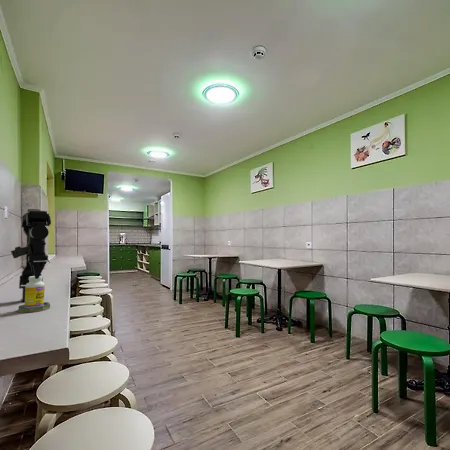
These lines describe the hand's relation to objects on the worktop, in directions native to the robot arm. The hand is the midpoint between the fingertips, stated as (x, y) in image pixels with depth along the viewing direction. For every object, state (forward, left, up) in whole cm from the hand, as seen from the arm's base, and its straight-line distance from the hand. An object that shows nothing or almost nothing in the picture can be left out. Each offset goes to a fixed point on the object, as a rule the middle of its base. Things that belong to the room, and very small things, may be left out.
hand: (35, 277), depth 113 cm
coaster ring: (0, 0, -13) cm, 13 cm away
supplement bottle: (0, 0, -12) cm, 13 cm away
